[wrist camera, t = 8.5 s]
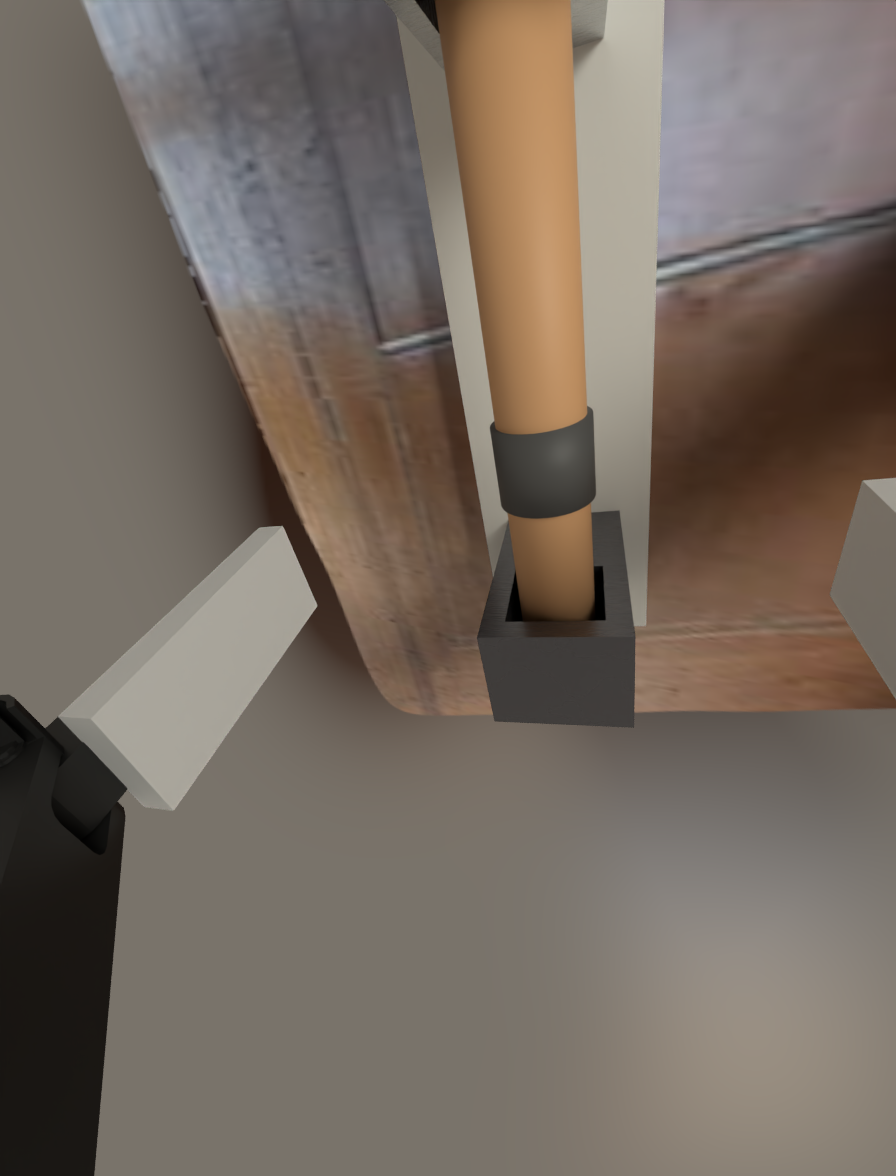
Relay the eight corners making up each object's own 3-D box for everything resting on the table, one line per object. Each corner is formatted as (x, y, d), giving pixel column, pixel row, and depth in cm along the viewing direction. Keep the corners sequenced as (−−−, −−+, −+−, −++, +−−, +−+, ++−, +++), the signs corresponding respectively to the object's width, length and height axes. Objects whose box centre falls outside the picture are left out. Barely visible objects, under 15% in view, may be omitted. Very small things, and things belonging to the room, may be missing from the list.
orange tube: (437, -25, 13) (396, -97, 10) (576, -83, 12) (573, -179, 9) (526, 621, 25) (518, 671, 22) (600, 620, 24) (602, 672, 21)
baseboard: (337, -397, 14) (315, -453, 13) (675, -630, 12) (686, -728, 11) (504, 614, 34) (501, 627, 33) (643, 611, 32) (646, 626, 30)
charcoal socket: (508, 518, 28) (477, 637, 20) (619, 510, 27) (635, 636, 18) (518, 590, 31) (494, 721, 23) (619, 586, 29) (633, 727, 21)
